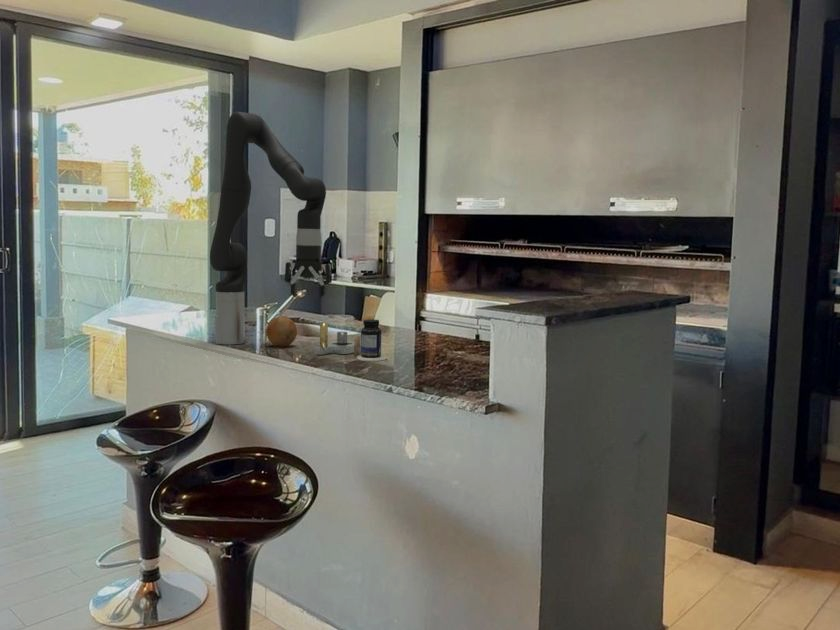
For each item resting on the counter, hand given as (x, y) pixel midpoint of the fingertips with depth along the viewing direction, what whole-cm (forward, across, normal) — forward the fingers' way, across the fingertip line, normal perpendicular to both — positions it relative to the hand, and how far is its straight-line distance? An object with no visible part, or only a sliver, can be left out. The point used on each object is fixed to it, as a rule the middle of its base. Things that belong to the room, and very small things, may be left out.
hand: (308, 296), depth 236 cm
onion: (+18, -12, +12) cm, 24 cm away
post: (+18, +9, +8) cm, 21 cm away
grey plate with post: (+17, +8, +5) cm, 20 cm away
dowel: (+17, +16, 0) cm, 24 cm away
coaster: (+17, +21, -4) cm, 28 cm away
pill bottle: (+17, +21, -4) cm, 27 cm away
